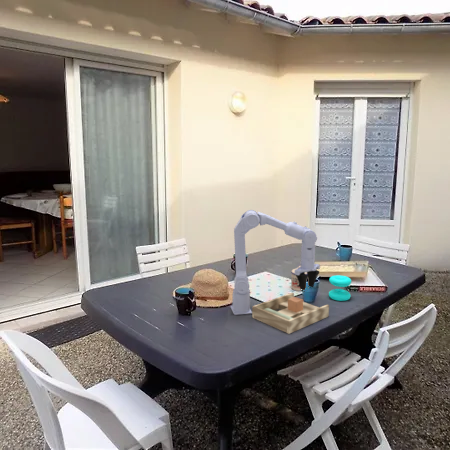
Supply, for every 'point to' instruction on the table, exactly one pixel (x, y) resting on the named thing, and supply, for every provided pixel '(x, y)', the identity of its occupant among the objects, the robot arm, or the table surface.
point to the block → (295, 304)
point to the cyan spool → (339, 293)
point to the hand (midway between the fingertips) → (306, 287)
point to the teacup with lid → (295, 281)
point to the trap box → (288, 314)
